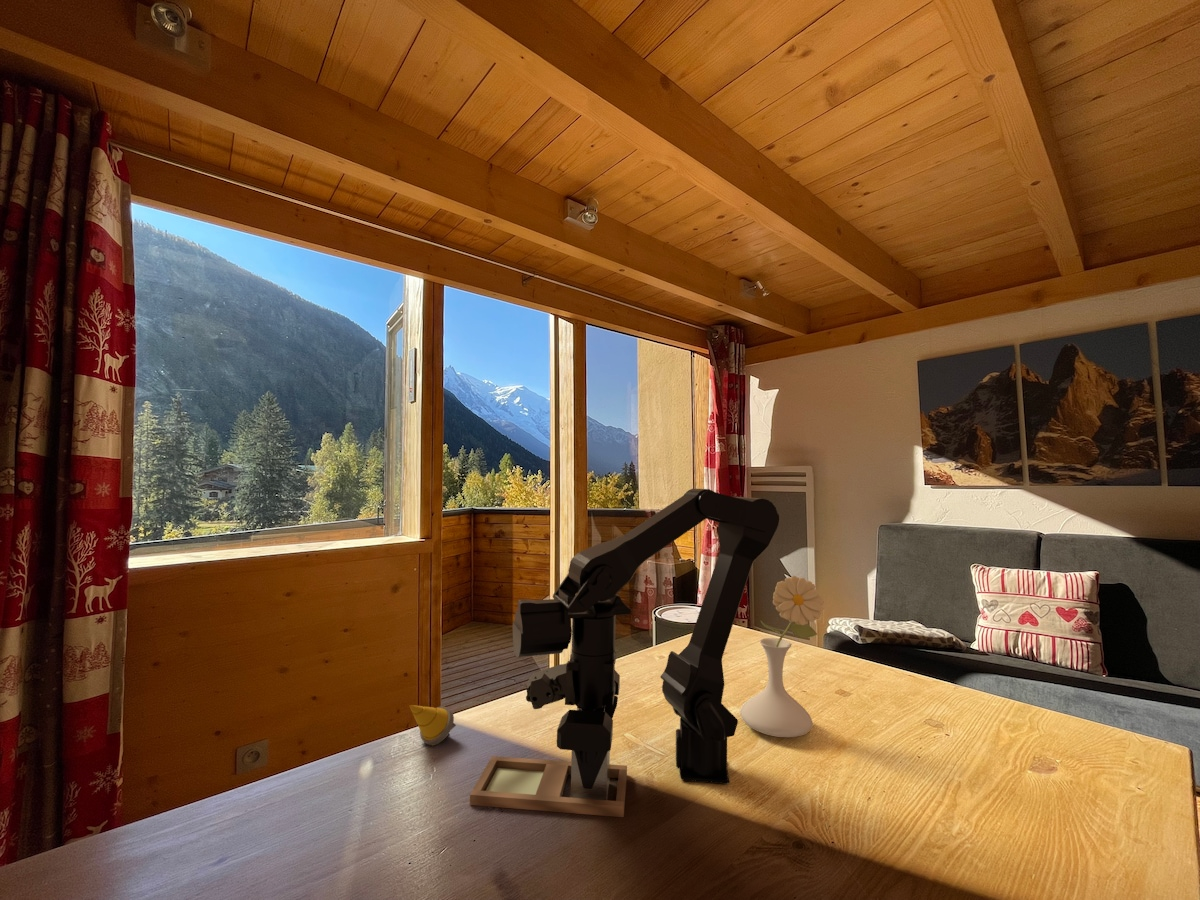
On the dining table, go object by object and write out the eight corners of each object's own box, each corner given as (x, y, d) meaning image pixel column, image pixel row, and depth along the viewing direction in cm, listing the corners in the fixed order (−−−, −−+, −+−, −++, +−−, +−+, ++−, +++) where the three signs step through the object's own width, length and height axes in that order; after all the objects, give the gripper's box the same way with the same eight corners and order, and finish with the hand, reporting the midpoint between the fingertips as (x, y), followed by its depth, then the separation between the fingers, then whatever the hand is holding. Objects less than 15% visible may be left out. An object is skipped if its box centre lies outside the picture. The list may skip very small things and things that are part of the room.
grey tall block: (609, 783, 69) (610, 717, 70) (606, 804, 65) (607, 733, 65) (575, 780, 70) (577, 715, 70) (570, 801, 65) (572, 731, 66)
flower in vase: (735, 736, 83) (735, 577, 84) (743, 707, 93) (744, 566, 94) (824, 754, 78) (824, 584, 79) (823, 721, 88) (822, 572, 90)
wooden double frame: (626, 774, 71) (627, 765, 71) (623, 817, 62) (623, 806, 62) (491, 764, 73) (491, 756, 73) (469, 804, 64) (469, 794, 64)
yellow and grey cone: (462, 746, 79) (421, 717, 74) (432, 757, 80) (390, 729, 74) (465, 712, 83) (428, 682, 78) (437, 723, 84) (398, 694, 79)
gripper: (546, 626, 78) (544, 732, 77) (514, 672, 60) (511, 812, 59) (620, 629, 77) (618, 737, 76) (611, 677, 59) (609, 820, 58)
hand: (591, 771), depth 67 cm, fingers open, 7 cm apart
